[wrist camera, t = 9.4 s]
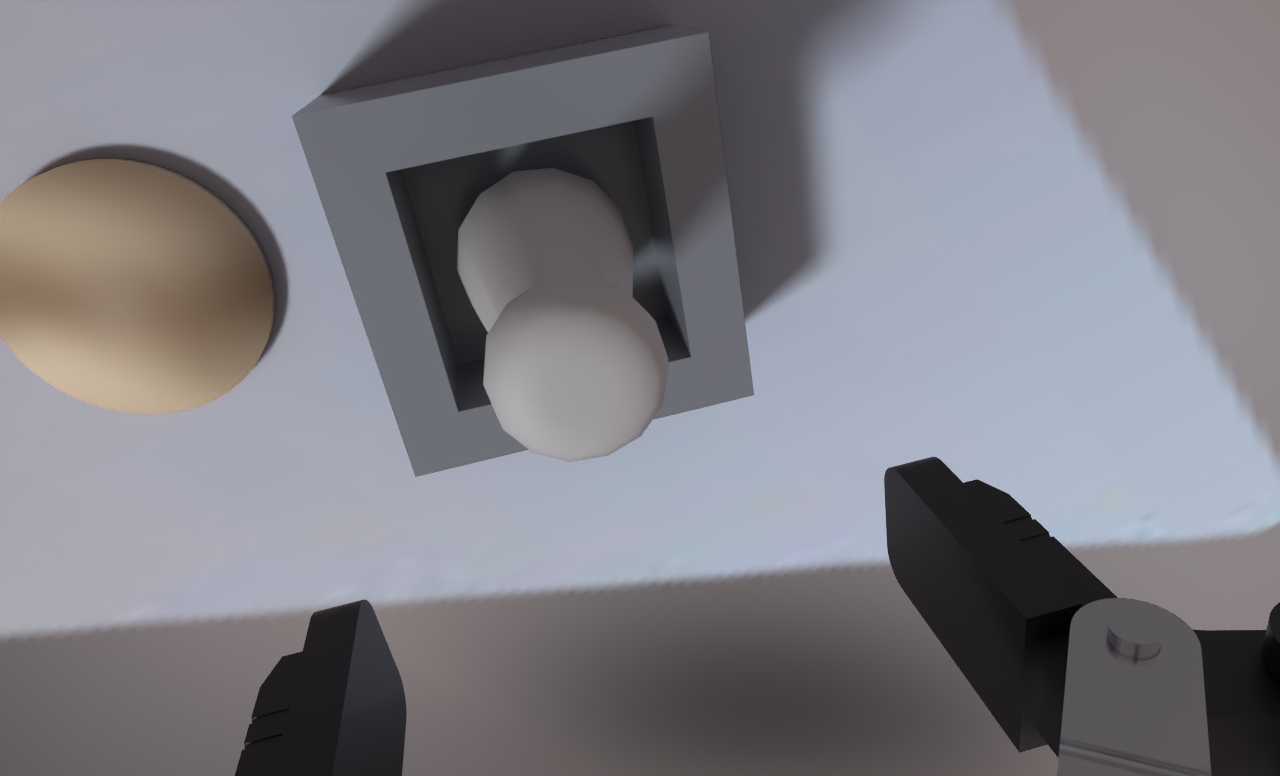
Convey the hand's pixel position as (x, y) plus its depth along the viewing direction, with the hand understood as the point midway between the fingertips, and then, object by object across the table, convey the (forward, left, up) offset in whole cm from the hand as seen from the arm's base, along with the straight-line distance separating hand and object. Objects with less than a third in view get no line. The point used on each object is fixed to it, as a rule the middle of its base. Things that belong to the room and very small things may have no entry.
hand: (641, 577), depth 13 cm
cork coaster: (-1, -14, -21) cm, 25 cm away
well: (0, 0, -21) cm, 21 cm away
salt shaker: (0, 0, -20) cm, 20 cm away
